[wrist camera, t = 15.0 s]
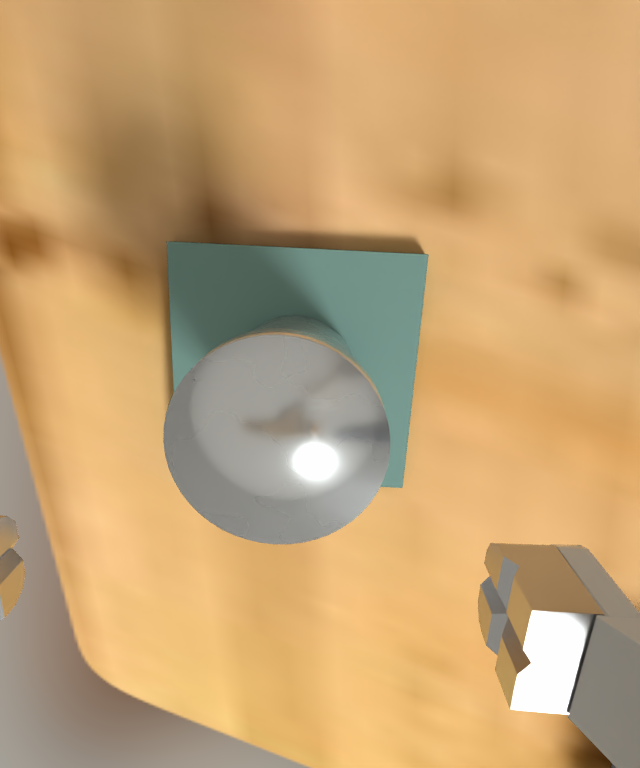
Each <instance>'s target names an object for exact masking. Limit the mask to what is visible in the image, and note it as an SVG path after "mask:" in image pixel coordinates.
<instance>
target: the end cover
mask: <svg viewBox="0 0 640 768" xmlns="http://www.w3.org/2000/svg"><path fill="white" fill-rule="evenodd" d="M164 449H165V456H166V460H167V463H168V467H169V470H170V472H171V475H172V477H173V479H174V481H175V483H176V485H177V487H178V488H179V490H180V492H181V493H182V494H183V496H184V497H185V498H186V500H187V501H188V502H189V504H190V505H191V506H192V507H193V508H194V509H195V510H196V511H197V512H198V513H199V514H201V515H202V516H203V517H204V518H206V519H207V520H208V521H209V522H211V523H213V524H214V525H216V526H217V527H219V528H221V529H222V530H224V531H226V532H229V533H231V534H233V535H235V536H238V537H241V538H244V539H247V540H251V541H255V542H260V543H268V544H294V543H303V542H307V541H311V540H315V539H318V538H321V537H324V536H326V535H329V534H331V533H333V532H335V531H337V530H339V529H341V528H342V527H344V526H345V525H347V524H348V523H350V522H351V521H352V520H354V519H355V518H356V517H357V516H358V515H359V514H360V513H362V512H363V510H364V509H365V508H366V507H367V506H368V505H369V504H370V502H371V501H372V499H373V498H374V496H375V495H376V493H377V492H378V490H379V488H380V486H381V484H382V482H383V480H384V477H385V474H386V471H387V468H388V463H389V457H390V432H389V425H388V421H387V417H386V413H385V410H384V407H383V403H382V400H381V398H380V395H379V393H378V390H377V388H376V386H375V384H374V383H373V381H372V379H371V378H370V376H369V375H368V373H367V372H366V371H365V370H364V368H363V367H362V366H361V365H360V364H359V363H358V362H357V361H356V360H355V359H354V358H353V355H352V353H351V351H350V348H349V347H348V345H347V343H346V342H345V340H344V339H343V338H342V337H341V335H340V334H339V333H337V332H336V331H335V330H334V329H333V328H332V327H330V326H329V325H327V324H325V323H324V322H322V321H320V320H317V319H315V318H311V317H307V316H301V315H287V316H280V317H277V318H273V319H271V320H269V321H266V322H265V323H263V324H261V325H260V326H258V327H257V328H256V329H255V330H253V331H251V332H248V333H244V334H241V335H238V336H236V337H233V338H231V339H229V340H226V341H225V342H223V343H222V344H220V345H218V346H217V347H215V348H214V349H212V350H211V351H210V352H209V353H208V354H206V355H205V356H204V357H203V358H202V359H201V360H200V361H199V362H198V363H197V364H196V365H195V366H194V367H193V368H192V369H191V370H190V371H189V372H188V373H187V374H186V375H185V376H184V378H183V379H182V381H181V382H180V384H179V385H178V387H177V388H176V390H175V392H174V394H173V396H172V398H171V400H170V403H169V406H168V409H167V412H166V417H165V423H164Z"/></svg>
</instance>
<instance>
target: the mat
mask: <svg viewBox="0 0 640 768" xmlns="http://www.w3.org/2000/svg"><path fill="white" fill-rule="evenodd" d="M167 260H168V281H169V302H170V323H171V344H172V365H173V386H174V392H175V390H176V388H177V387H178V385H179V384H180V382H181V381H182V379H183V378H184V376H185V375H186V374H187V373H188V372H189V371H190V370H191V369H192V368H193V367H194V366H195V365H196V364H197V363H198V362H199V361H200V360H201V359H202V358H203V357H204V356H205V355H206V354H208V353H209V352H210V351H211V350H212V349H214V348H215V347H217V346H218V345H220V344H222V343H223V342H225V341H226V340H229V339H231V338H233V337H236V336H238V335H241V334H244V333H248V332H251V331H253V330H255V329H256V328H257V327H258V326H260V325H261V324H263V323H265V322H266V321H269V320H271V319H273V318H277V317H280V316H287V315H301V316H307V317H311V318H315V319H317V320H320V321H322V322H324V323H325V324H327V325H329V326H330V327H332V328H333V329H334V330H335V331H336V332H337V333H339V334H340V335H341V337H342V338H343V339H344V340H345V342H346V343H347V345H348V347H349V348H350V351H351V353H352V355H353V358H354V359H355V360H356V361H357V362H358V363H359V364H360V365H361V366H362V367H363V368H364V370H365V371H366V372H367V373H368V375H369V376H370V378H371V379H372V381H373V383H374V384H375V386H376V388H377V390H378V393H379V395H380V398H381V400H382V403H383V407H384V410H385V413H386V417H387V421H388V425H389V432H390V457H389V463H388V468H387V471H386V474H385V477H384V480H383V482H382V484H381V486H380V487H395V488H402V487H403V478H404V469H405V460H406V451H407V442H408V434H409V425H410V416H411V407H412V398H413V389H414V380H415V371H416V362H417V353H418V344H419V335H420V326H421V317H422V308H423V299H424V290H425V281H426V272H427V263H428V254H414V253H394V252H374V251H353V250H333V249H313V248H293V247H273V246H252V245H232V244H212V243H192V242H167Z"/></svg>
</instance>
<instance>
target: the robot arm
mask: <svg viewBox="0 0 640 768" xmlns="http://www.w3.org/2000/svg"><path fill="white" fill-rule="evenodd" d="M18 539H19V535H18V531H17V527H16V522H15V521H14V520H13V519H11V518H9V517H8V516H0V620H2V619H4V618H5V617H6V616H7V614H8V613H9V612H10V611H11V610H12V608H13V607H14V606H15V605H16V603H17V601H18V598H19V596H20V594H21V591H22V589H23V586H24V576H25V569H24V563H23V559H22V558H21V557H20V556H19V555H18V554H17V553H16V552H15V551H14V550H13V549H12V548H13V546H14V545H15V543H16V542H17V540H18ZM484 563H485V566H486V568H487V570H488V573H489V575H490V576H489V577H488V578H487V579H486V580H485V581H484V582H483V583H482V584H481V585H480V592H479V599H478V612H479V622H480V627H481V632H482V635H483V638H484V640H485V643H486V646H488V647H489V648H490V649H491V650H492V651H493V652H494V653H495V654H497V655H498V657H497V662H496V667H495V671H496V673H497V676H498V679H499V681H500V684H501V687H502V689H503V692H504V695H505V697H506V700H507V703H508V705H509V708H510V709H511V710H522V711H534V712H545V713H556V714H568V715H569V716H568V718H569V719H570V720H571V721H572V722H573V723H574V724H575V725H576V726H577V727H578V728H579V729H580V731H581V732H582V733H583V734H584V735H585V736H586V737H587V738H588V739H589V740H590V741H591V742H592V743H593V744H594V745H595V746H596V747H597V748H598V749H599V750H600V751H601V752H602V753H603V754H604V755H605V756H606V757H607V758H608V759H609V761H610V762H611V763H612V764H613V765H614V766H615V767H616V768H640V613H639V612H638V610H637V609H636V608H635V607H634V605H633V604H632V603H631V602H630V600H629V599H628V598H627V597H626V595H625V594H624V593H623V592H622V590H621V589H620V588H619V587H618V585H617V584H616V583H615V582H614V581H613V579H612V578H611V577H610V576H609V574H608V573H607V572H606V571H605V569H604V568H603V567H602V566H601V564H600V563H599V562H598V561H597V559H596V558H595V557H594V556H593V554H592V553H591V552H590V551H589V550H588V549H587V548H585V547H583V546H581V545H531V544H506V543H490V545H489V547H488V549H487V552H486V557H485V562H484Z"/></svg>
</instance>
